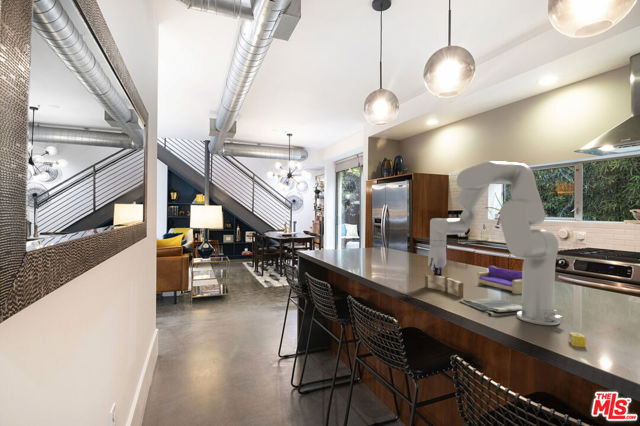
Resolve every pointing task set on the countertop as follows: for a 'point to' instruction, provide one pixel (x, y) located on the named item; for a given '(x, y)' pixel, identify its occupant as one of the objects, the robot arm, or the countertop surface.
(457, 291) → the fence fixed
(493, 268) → the toy sofa
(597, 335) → the countertop surface
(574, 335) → the alphabet block
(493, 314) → the dish towel
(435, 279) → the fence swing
